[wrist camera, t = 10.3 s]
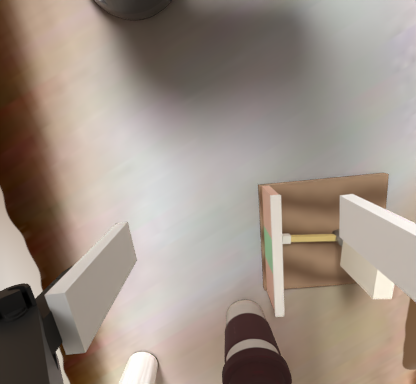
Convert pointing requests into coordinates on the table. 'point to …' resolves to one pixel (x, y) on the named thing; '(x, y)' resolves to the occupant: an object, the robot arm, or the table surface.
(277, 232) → the scale wall
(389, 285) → the white block with rod
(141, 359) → the cup
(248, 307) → the coffee cup
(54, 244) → the table surface
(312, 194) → the board
